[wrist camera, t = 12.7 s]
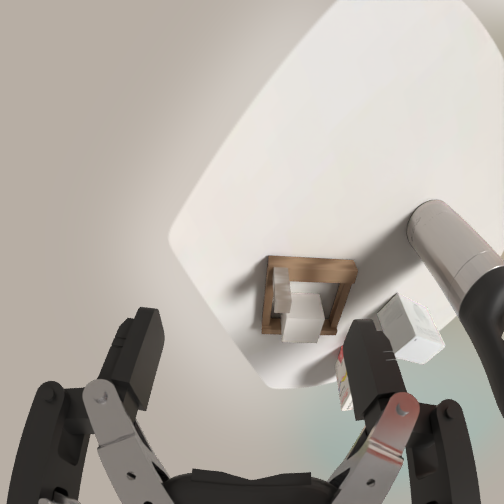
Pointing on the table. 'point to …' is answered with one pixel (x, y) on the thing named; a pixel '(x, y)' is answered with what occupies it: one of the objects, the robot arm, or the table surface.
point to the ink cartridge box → (343, 383)
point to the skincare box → (410, 330)
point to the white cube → (303, 319)
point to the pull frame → (304, 271)
